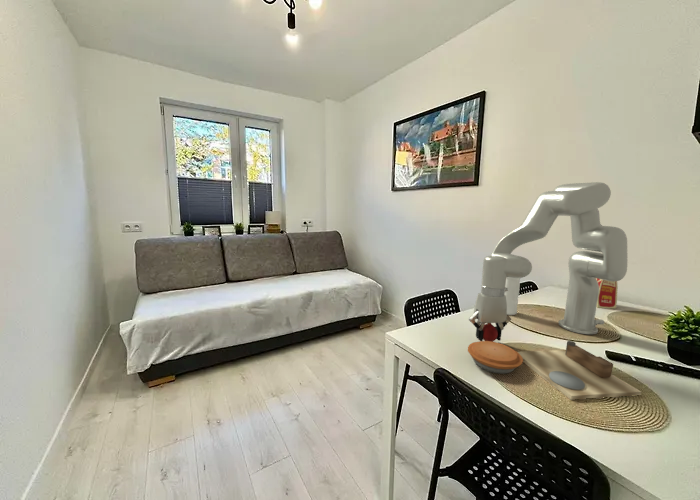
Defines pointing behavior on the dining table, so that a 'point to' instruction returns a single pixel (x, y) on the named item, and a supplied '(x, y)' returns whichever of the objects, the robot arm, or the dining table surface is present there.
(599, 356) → the block
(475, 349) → the pie
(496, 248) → the robot arm
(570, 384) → the felt pad
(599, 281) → the milk carton
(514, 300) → the white milk bottle
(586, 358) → the leg
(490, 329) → the onion
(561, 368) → the board
